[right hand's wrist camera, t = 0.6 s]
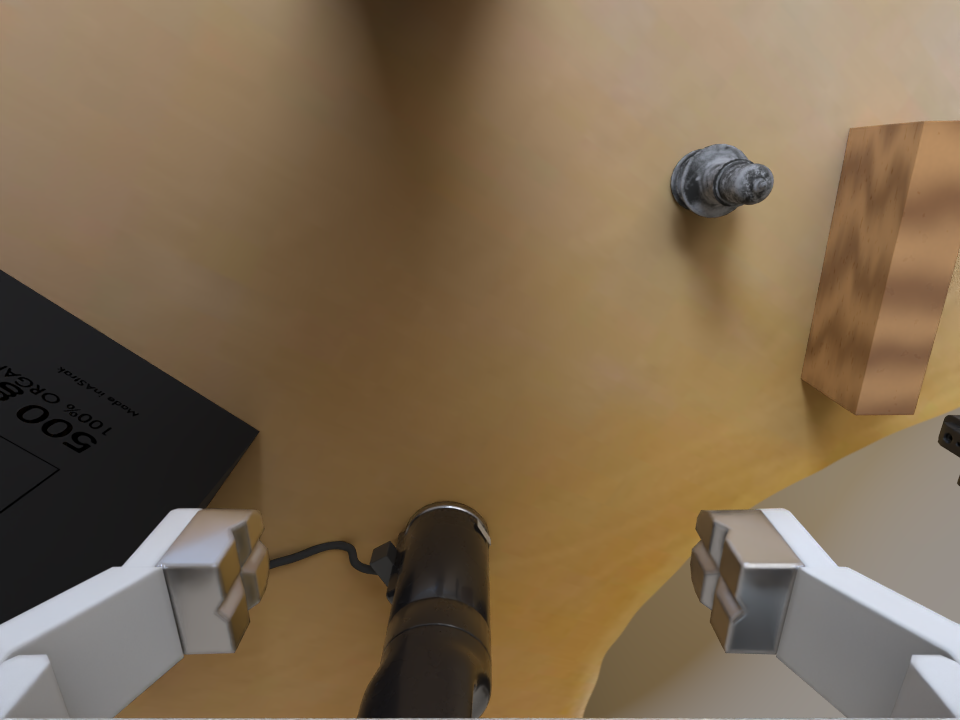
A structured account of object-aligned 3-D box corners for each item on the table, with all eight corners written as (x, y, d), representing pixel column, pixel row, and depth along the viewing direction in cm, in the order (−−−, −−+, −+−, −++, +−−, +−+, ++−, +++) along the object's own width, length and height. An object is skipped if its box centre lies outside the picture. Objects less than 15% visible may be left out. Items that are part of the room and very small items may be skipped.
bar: (849, 128, 49) (924, 121, 40) (908, 127, 49) (995, 120, 40) (800, 378, 56) (855, 415, 48) (850, 378, 56) (913, 414, 48)
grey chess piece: (747, 172, 50) (826, 175, 38) (701, 227, 51) (764, 245, 40) (698, 130, 48) (765, 120, 37) (653, 188, 50) (704, 195, 39)
